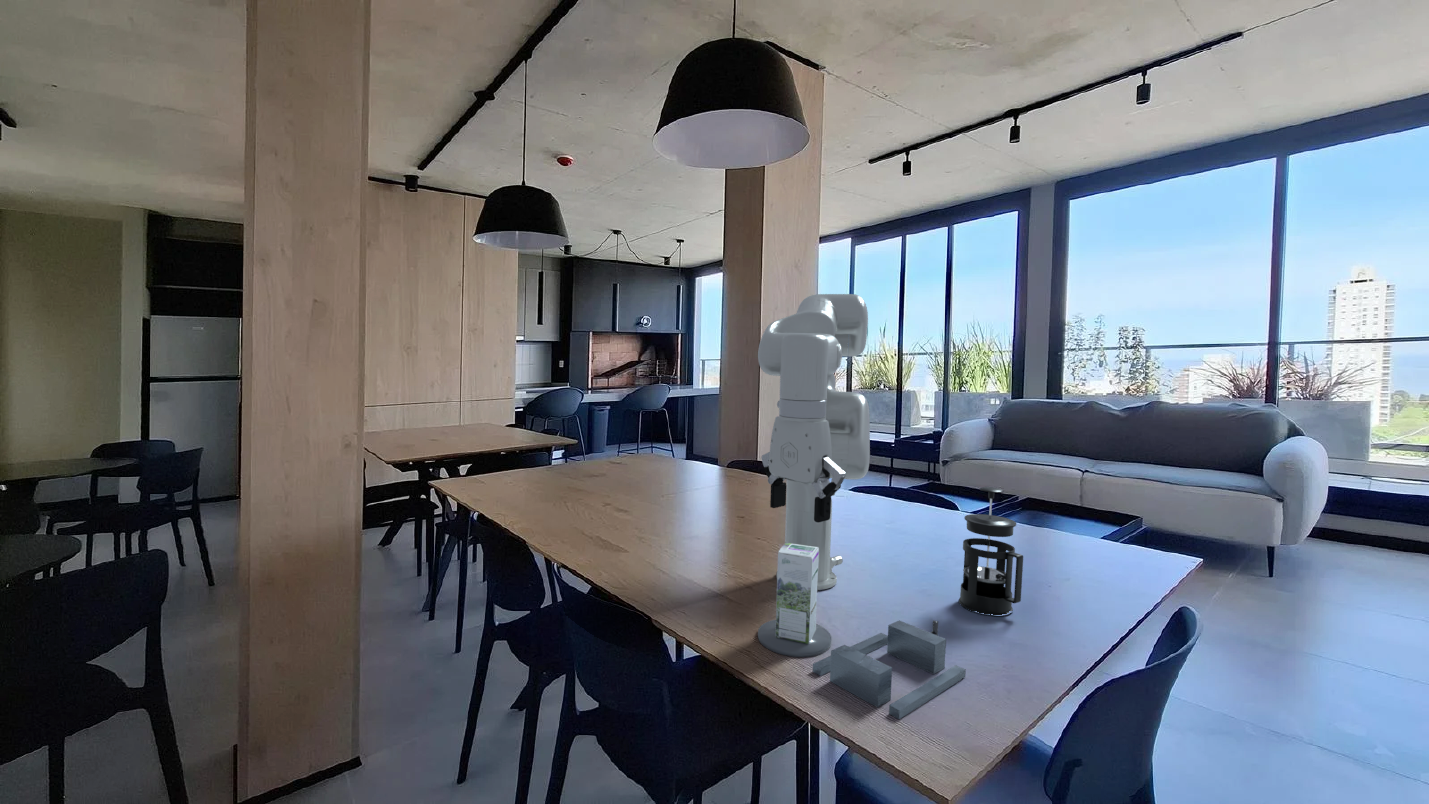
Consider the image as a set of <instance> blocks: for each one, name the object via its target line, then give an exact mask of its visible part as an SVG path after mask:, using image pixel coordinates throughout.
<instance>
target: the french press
mask: <svg viewBox="0 0 1429 804" xmlns="http://www.w3.org/2000/svg"><path fill="white" fill-rule="evenodd" d="M979 490H980V491H982V492H986V493H988V499H989V513H988V514H985V513H984V514H983V513H981V514H980V513H978V514H977V513H973V514H972V513H971V514H966V515H964V518H963V519H964V521H966V529H967V530H968V531H969V532H971V533H974V534H977V535H982V536H987V538H982V537H981V538H980V537H973V538H972V537H971V538H966V539H964V540H963V542H962V550H963V551H964V559H963V569H962V570H963V575H962V577H963V579H962V580H963V581H962V583H960V592H959V593H960V594H959V599H958V604H959V605H960V604H961V605H962V606H963V608H964V607H965V608H967V609H969V610H971V611H970V612H972V611H977V612H979V613H984V614H990V615H991V614H993V615H1002V614H1007V613H1009V611H1013V610H1014V609H1013V605H1012V604H1017V603H1020V602H1022V587H1023V585H1022V584H1023V571H1024V570H1023V569H1024V567H1023V566H1024V555H1022V554H1021V553H1017V552H1016V548H1015V547H1014V546H1013V545H1011V544H1009V543H1007V542H1004V541H999V540H996V539H991V537H996V538H1008V537H1012V536H1013V535H1014V528H1015V527H1016V526H1017V522H1016V521H1015V520H1013V519H1010V518H1008V517H1004V516H998V515H993V514H992V507H993V499H995V493H996V494H1000V493H1001V494H1002V493H1004V492H1005V490H1003V489H1002V488H998V487H993V486H984V487H980V488H979ZM972 546H973V547H972ZM974 546H987V547H986V548H987V549H986V550H984V549H983V550H982V549H979V548H976V547H974ZM990 547H994V548H996V551H990ZM980 558H984V559H986V564H985V565H986V566H980V565H979V559H980ZM1014 558H1015V560H1016V563H1015V578H1014V594H1013V592H1012V581H1013V580H1012V579H1013V563H1014V562H1013V561H1014ZM990 559H991V560H996V562H995V563H996V565H995V568H992V567H989V565H990V561H989V560H990ZM1013 595H1014V597H1013ZM961 605H960V606H961ZM962 606H961V607H962ZM965 608H964V609H965ZM967 609H966V610H967ZM969 610H968V611H969Z"/></svg>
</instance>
